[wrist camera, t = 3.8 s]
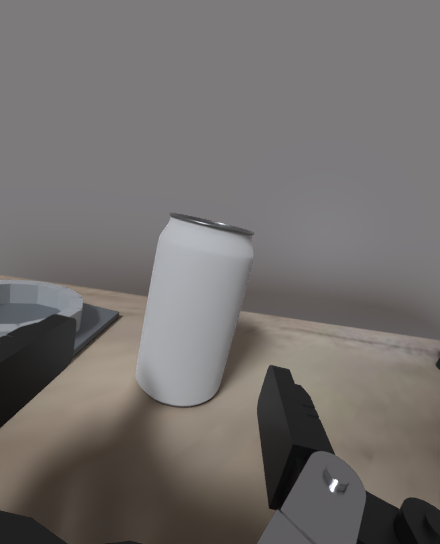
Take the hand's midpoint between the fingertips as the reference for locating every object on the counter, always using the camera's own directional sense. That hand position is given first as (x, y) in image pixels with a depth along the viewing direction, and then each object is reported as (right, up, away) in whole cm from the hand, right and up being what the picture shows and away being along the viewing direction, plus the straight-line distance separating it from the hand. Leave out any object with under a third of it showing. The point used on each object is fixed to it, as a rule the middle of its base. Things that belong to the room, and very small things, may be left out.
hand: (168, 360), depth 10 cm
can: (-1, -5, +9) cm, 10 cm away
